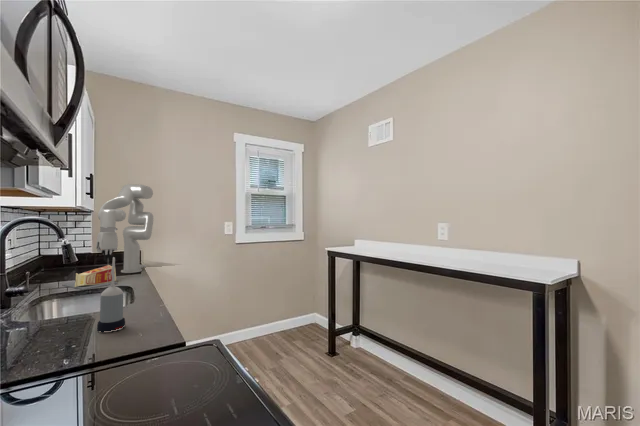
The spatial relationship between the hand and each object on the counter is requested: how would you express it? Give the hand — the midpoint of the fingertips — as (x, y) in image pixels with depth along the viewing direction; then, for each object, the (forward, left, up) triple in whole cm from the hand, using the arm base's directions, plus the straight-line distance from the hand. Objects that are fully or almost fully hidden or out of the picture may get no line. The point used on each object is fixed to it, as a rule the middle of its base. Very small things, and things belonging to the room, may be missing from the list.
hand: (107, 261), depth 184 cm
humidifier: (+44, +80, -12) cm, 92 cm away
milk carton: (-1, +1, -6) cm, 7 cm away
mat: (+8, 0, -12) cm, 15 cm away
